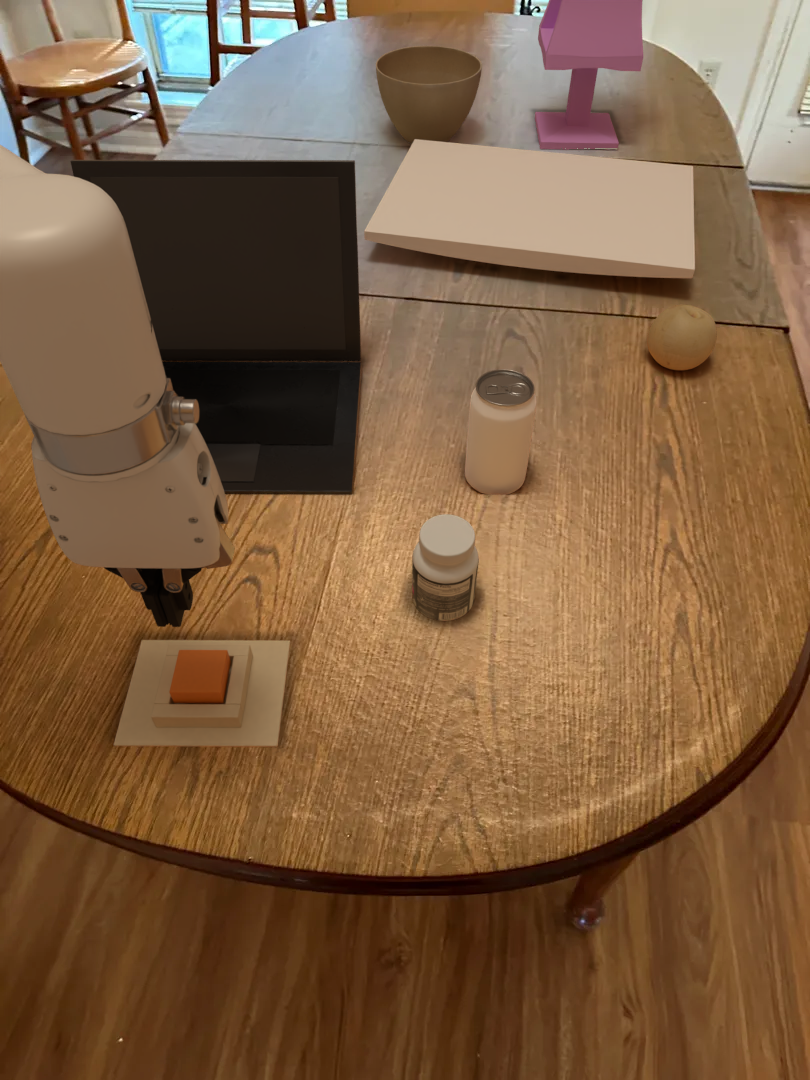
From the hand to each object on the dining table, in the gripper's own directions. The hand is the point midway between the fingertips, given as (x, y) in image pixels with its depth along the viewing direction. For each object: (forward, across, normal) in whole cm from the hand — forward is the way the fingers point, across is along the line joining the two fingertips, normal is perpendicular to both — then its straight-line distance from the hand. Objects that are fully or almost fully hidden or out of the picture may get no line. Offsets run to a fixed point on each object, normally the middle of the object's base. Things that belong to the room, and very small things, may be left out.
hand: (173, 610), depth 57 cm
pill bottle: (+12, -21, -10) cm, 26 cm away
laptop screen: (0, +4, -48) cm, 48 cm away
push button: (+9, -1, 0) cm, 10 cm away
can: (+12, -26, -27) cm, 39 cm away
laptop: (+12, +4, -34) cm, 36 cm away
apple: (+12, -50, -48) cm, 70 cm away
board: (+12, -36, -82) cm, 90 cm away
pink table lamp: (+13, -47, -117) cm, 127 cm away
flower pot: (+13, -20, -115) cm, 117 cm away
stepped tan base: (+12, -1, 0) cm, 12 cm away
